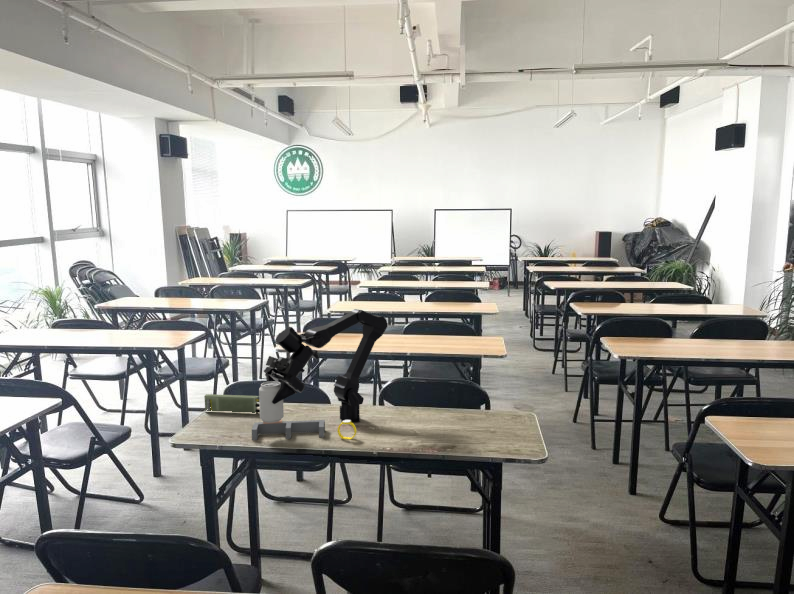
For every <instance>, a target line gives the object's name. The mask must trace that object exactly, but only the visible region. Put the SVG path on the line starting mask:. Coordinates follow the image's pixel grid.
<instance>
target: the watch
mask: <svg viewBox="0 0 794 594" xmlns="http://www.w3.org/2000/svg"><path fill="white" fill-rule="evenodd" d="M342 425H350V426H351V427H352V429H353V435H352V436H351V437H349V436H344V435H343V434H342V432H341V426H342ZM337 435H338V437H340V439H341V440H352V439H354V438H355V437H356V435H357V427H356V425H355V424H354V422H351V420H343V421H342V422H341V423H340V424H339V425H338V426H337Z"/></svg>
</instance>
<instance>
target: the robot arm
mask: <svg viewBox="0 0 794 594" xmlns="http://www.w3.org/2000/svg"><path fill="white" fill-rule="evenodd" d="M358 323H359V324H361V325H363V326H362V338H361V339H360V342H359V344H358V346H357V348H356V351H355V353H354V355H353V358H352V359H351V361H350V364H349V365H348V369H347V371H346V372H345V373H344V374H343V375H340V374H339V375H338V376H337V378H336V381H335V383H334V384H333V393H334V396H335V397H336V398H337V401H338V402H340V404H341V405H340V406H339V420H341V421H340V422H341V423H342V421H343V420H351V422H352V423H359V422H361V418H360V416H361V415H360V405H363V403H364V400H365V398H364V397H363V396H362V395H361V394H360V393H359V390H360V376H361V375H362V373H363V371H364V368H365V366H366V363H367V362H368V359H369V357H370V354H371V353H372V350H373V348H374V345H375V344H376V342H377V341H378V340H379V339H380V338H381V337H382V336H383V335H384V333H385V332H386V331H387V328H388V320H387V319H386V317H384V316H381V315H375V314H371V313H368V312H366V311H364V310H362V309H356V308H355V309H352V310H351V311H350V312H348V313H346V314H344V315H342V316H341V317H338V318H337V319H335V320H333V321H330V322H329V323H327V324H325V325H320V326H315V327H312V328H309V329H307V330H306V331H305V332H304V333H303V332H302V333H300V334H299V333H298V332H297V331H296V330H295V328H293V327H292V326H287V328H286V329H284V330H281V332H279V333H278V334H277V335H276V337H275V343H276V344H278V346H279V347H281V348H282V349H283V350H285V352H286V353H287V354H291V353H292V354H291V355H290V356H289V357H282V356H280V357H279V358H277V357H275V356H271V355H268V358H267V360H266V362H265V366H266V367H265V368H264V370H263V372H264V375H265V378H266V379H265V380H266V382H270V381H276V382H280V383H281V384H280V385H281V388H280V389H279V391H278V392H277V394H276V396H275V397H274V399H273V401H272V403H273V404H276V403H278V402H279V401H281V400H283V401H284V399H287V398H288V397H291V396H293V395H295V394H298V393H300V394H302V393H303V391H304V390H305V388H306V387H305V386H306V385H305V383H304V382H303V381H302V380H300V379H299V378H298V376H299V374H301V373H302V374H303V373H304V372H305V371H306V370H305V367H306V365H307V364H308V363H309V361H310V360H311V359H312V358H313V359H315V360H318V359H319V354H318V352H319V351H318V350H315V349H312V347H313V348H316V349H321V348H324V346H326V345H327V344H329V343H330V342H331V341H332V338H333V337H336V336H337V335H338V334H340V333H342V332H343V331H346V330H347V329H350V328H351V327H353V326H354V325H356V324H358ZM305 344H306V345H305Z"/></svg>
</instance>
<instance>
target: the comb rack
mask: <svg viewBox="0 0 794 594" xmlns="http://www.w3.org/2000/svg"><path fill="white" fill-rule="evenodd" d="M297 433H298V434H300V433H301V434H302V433H303V434H304V433H318V437H319V438H325V433H326V419H315V420H313V419H311V420H309V419H306V420H288V421H287V420H285V421H283V419H281V420H280V421H278V422H273V423H267V422H263V421H259V422H255V421H254V423H253V424H252V428H251V441H258V437H259V435H274V434H278V435H280V434H285V440H289V439H290V440H291V438H292V434H297Z"/></svg>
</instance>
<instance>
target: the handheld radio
mask: <svg viewBox="0 0 794 594" xmlns="http://www.w3.org/2000/svg"><path fill="white" fill-rule="evenodd" d="M258 402H259V395H241V394H240V395H239V394H235V395H234V394H215V393H214V394H212V393H210V394H209V393H208V394H207V393H206V394H204V411H206V410H207V409H208V410H207V411H211V410H212V411H232V412H252V413H255V412H259V413H260V403H258ZM210 407H211V408H210Z"/></svg>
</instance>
